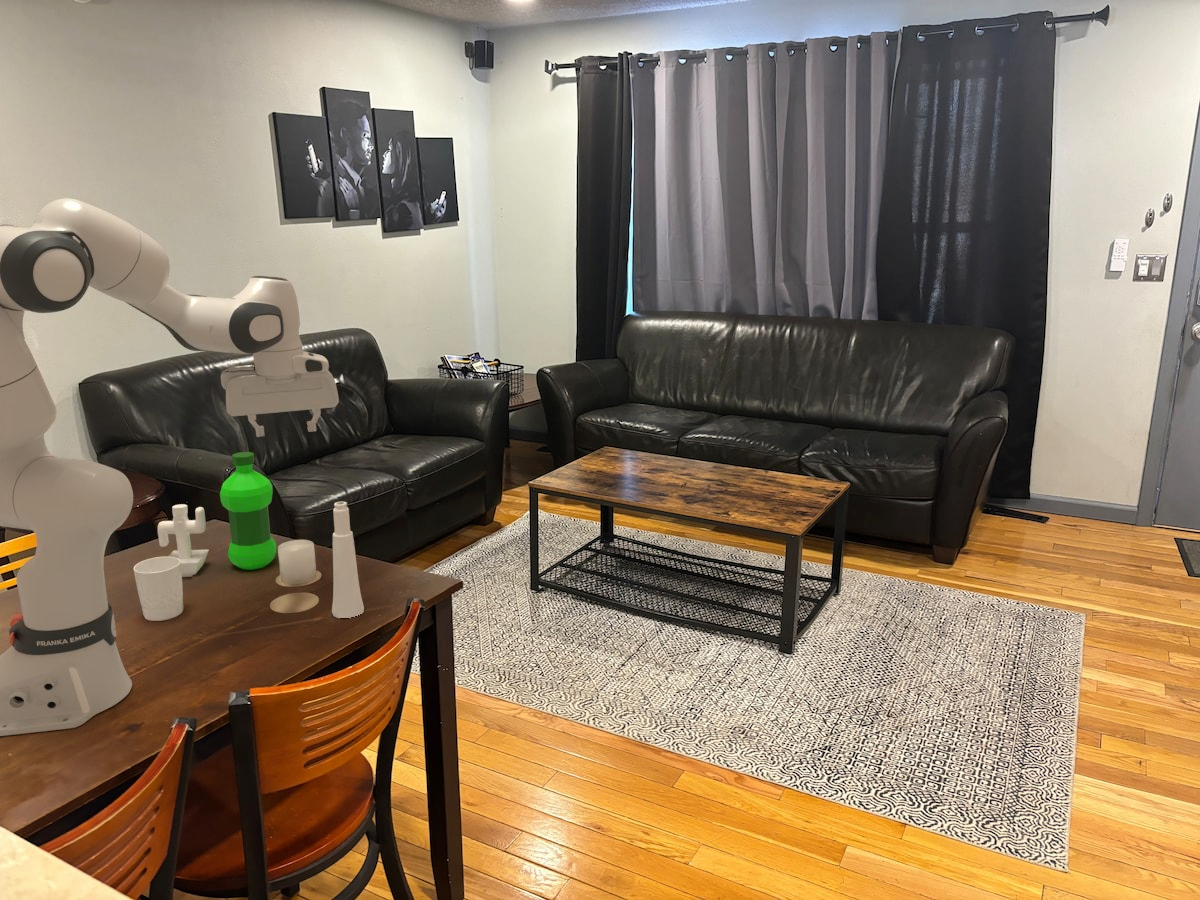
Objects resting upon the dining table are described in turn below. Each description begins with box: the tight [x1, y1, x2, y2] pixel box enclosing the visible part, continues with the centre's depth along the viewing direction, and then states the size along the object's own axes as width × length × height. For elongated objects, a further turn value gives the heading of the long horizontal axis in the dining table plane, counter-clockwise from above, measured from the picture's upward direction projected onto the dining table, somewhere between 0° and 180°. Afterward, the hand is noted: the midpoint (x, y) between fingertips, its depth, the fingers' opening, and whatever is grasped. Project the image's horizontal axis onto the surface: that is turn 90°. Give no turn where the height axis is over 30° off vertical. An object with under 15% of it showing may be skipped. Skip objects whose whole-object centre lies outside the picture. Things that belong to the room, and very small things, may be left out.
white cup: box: [132, 556, 184, 622], centre depth 161 cm, size 8×8×10 cm
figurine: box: [157, 503, 210, 578], centre depth 179 cm, size 7×9×15 cm
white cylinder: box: [277, 539, 317, 585], centre depth 177 cm, size 7×7×7 cm
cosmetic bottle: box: [331, 501, 365, 619], centre depth 161 cm, size 6×6×22 cm
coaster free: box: [269, 592, 320, 614], centre depth 167 cm, size 9×9×1 cm
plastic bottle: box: [219, 451, 277, 571], centre depth 181 cm, size 10×10×25 cm
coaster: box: [275, 569, 322, 588], centre depth 178 cm, size 9×9×1 cm
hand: (286, 433), depth 166 cm, fingers open, 8 cm apart
